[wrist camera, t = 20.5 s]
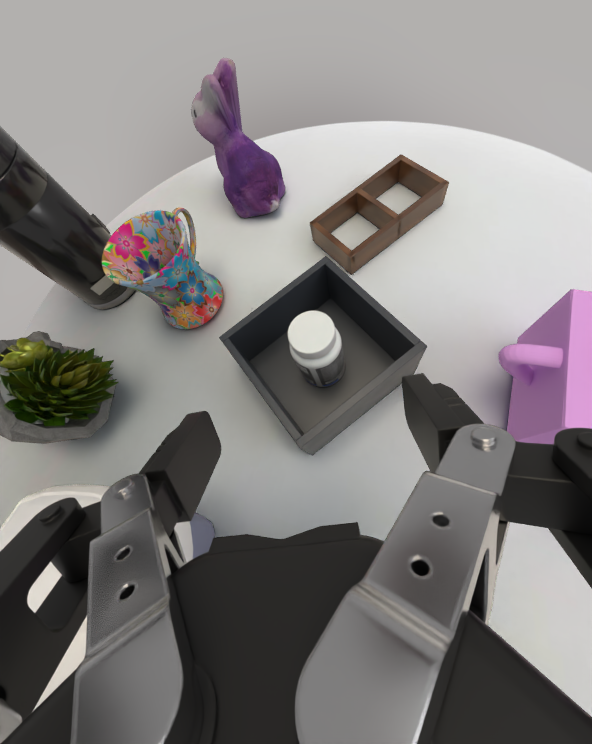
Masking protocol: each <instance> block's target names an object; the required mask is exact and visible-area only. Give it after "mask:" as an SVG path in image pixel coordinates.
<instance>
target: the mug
mask: <svg viewBox="0 0 592 744" xmlns="http://www.w3.org/2000/svg"><path fill="white" fill-rule="evenodd" d="M180 212H182V213H183V214H184V216H185V217H186V220H187V223H188V227H189V232H190V247H189V244H188V240H187V234H186V229H185V226H184V224H183V222H182V221H181V219H180V218H179V217H177V215H178V214H179V213H180ZM195 253H196V235H195V229H194V224H193V221H192V218H191V216H190V214H189V212H188V211H187V210H186V209H184V208H176V209H174V210H173V212H172V213H170V212H167V211H150V212H146V213H142V214H140V215H137V216H135V217H133V218H132V219H130V220H128V221H127V222H125V223H124V224H123V225H122V226H120V227H119V228H118V229H117V230H116V231H115V232H114V233H113V235H112V236H111V237H110V239H109V240H108V242H107V244H106V246H105V248H104V251H103V255H102V267H103V270H104V273H105V274H106V276H107V277H108V278H109V279H110V280H111V281H113V282H114V283H116V284H119V285H122V286H126V287H129V288H132V289H135V290H137V291H140V292H142V293H144V294H145V295H147V296H148V297H150V298H151V299H153V300H154V301H155V302H156V303H157V304H158V305H159V306H160V308H161V310H162V313H163V316H164V318H165V319H166V321H167V322H168V323H169V324H170V325H172V326H174V327H176V328H179V329H192V328H196V327H199V326H201V325H203V324H205V323H206V322H208V321H209V320H210V319H211V318H212V317H213V316H214V315H215V314H216V313H217V311H218V310H219V308H220V305H221V303H222V299H223V289H222V286H221V284H220V282H219V280H218V279H217V278H216V277H214V276H213V275H211V274H209V273H206V272H205V271H204V270H202V269H201V267H200V266H199V265H198V264H199V262H197V261H195Z"/></svg>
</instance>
